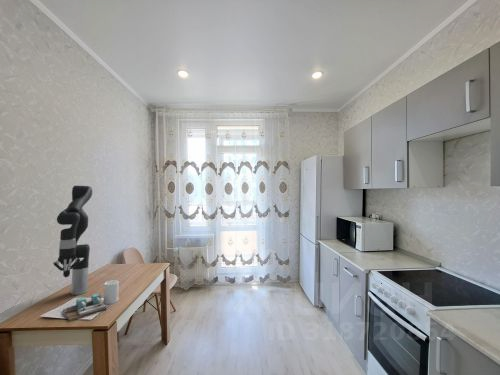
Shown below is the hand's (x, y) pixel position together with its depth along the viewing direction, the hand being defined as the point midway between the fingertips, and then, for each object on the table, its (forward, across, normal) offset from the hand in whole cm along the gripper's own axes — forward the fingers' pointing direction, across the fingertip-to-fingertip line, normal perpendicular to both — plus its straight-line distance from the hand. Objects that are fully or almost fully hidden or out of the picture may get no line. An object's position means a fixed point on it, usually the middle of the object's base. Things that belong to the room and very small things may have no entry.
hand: (66, 276), depth 135 cm
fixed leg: (+20, -15, +3) cm, 25 cm away
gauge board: (+21, -9, +4) cm, 23 cm away
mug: (+22, -25, 0) cm, 33 cm away
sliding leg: (+20, -8, +3) cm, 22 cm away
